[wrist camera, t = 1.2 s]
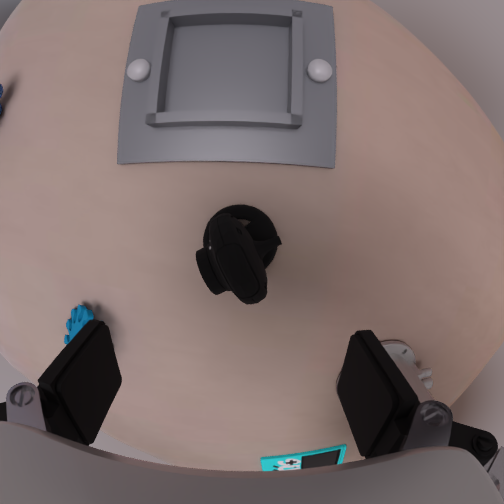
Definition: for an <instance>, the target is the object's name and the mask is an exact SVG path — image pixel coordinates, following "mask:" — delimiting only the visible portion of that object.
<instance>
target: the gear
mask: <svg viewBox="0 0 504 504" xmlns="http://www.w3.org/2000/svg"><path fill="white" fill-rule="evenodd" d="M71 317H72V320H70V319H68V321H67V323H66V327H67V329H68V331H69V335H65V339H64V343H65V344H68V343H69V342H70V341H71V340H72V339H73V337H74V336H75V335H76V334H77V333H78V332H79V331H80V329H81V328H82V327H83V326H84V325H85V324H86V323H87V322H88V321H89V320H93V318H94V316H93V312H92V310H88V309H87V308H86V307H85V306H83V305H78V308H77V309H72V310H71Z"/></svg>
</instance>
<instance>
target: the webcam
mask: <svg viewBox="0 0 504 504" xmlns="http://www.w3.org/2000/svg"><path fill="white" fill-rule="evenodd" d="M238 219H245V220H248V221H251V222H250V223H249V224H248V225H247V226H245V227H244V226H243V225H242V223H241V222H240V221H239V220H238ZM281 244H282V243H281V240H280V238H279V236H277V232H276V230H275V227H274V225H273V223H272V222H271V220H270V219H269V218H268V216H267V215H265V214H264V213H263V212H262V211H260V210H259V209H257V208H255V207H251V206H247V205H232V206H229V207H226V208H224V209H222V210H220V211H219V212H217V213H216V214H215V215H214V216H213V217H212V218H211V219H210V221H209V222H208V224H207V226H206V229H205V233H204V237H203V246H204V248H202V249H200V250H198V251H196V261H197V265H198V268H199V271H200V273H201V275H202V278H203V280H204V282H205V283H206V285H207V287H208V288H209V289H210V291H211V292H212V293H213V294H215V295H218V294H221V293H223V292H225V291H232V293H234V294H235V295H236V296H237V297H238V298H239V299H240V300H241V301H242V302H243V303H245V304H255V303H258V302H260V301H261V300H263V299H264V298H265V297H266V295H267V276H266V271H265V269H266V268H267V267H268V266H269V264H270V263H271V262H272V260H273V258H274V256H275V254H276V251H277V246H279V245H281Z"/></svg>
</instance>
